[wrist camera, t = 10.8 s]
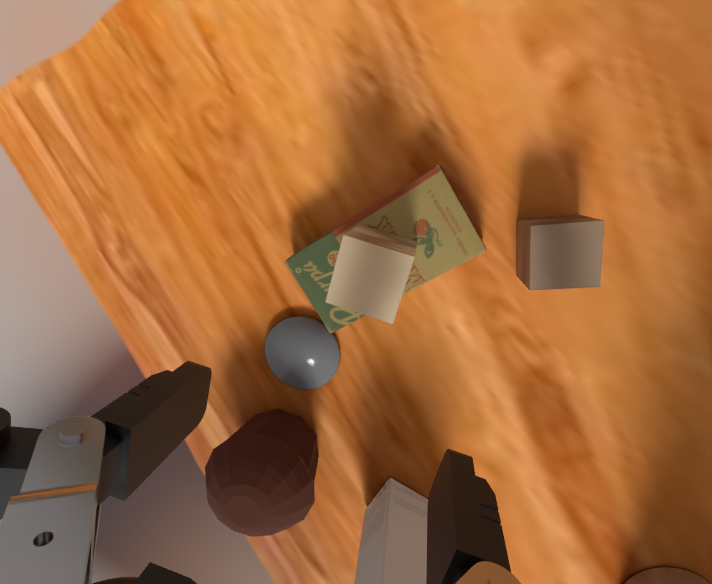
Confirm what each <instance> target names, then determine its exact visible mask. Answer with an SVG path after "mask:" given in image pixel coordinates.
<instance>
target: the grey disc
mask: <svg viewBox="0 0 712 584" xmlns="http://www.w3.org/2000/svg"><path fill="white" fill-rule="evenodd" d="M340 355H341V353H340V346H339V343H338V340H337V338H336V336H335V335H334V333H330V332H329V331H328V329H327V328H326V327H325V325H324V323H322V322H321V321H319V320H317V319H315V318H312V317H309V316H302V315H299V316H291V317H288V318H286V319H283V320H282V321H280V322H279V323H278V324H277V325H276V326H274V327H273V329H272V330H271V331H270V332H269V334H268V336H267V338H266V342H265V357H266V361H267V363H268V366H269V367H270V369H271V371H272V372H273V373H274V375H275V376H276V377H277V378H278V379H280V380H281V381H282V382H284V383H285V384H287V385H289V386H292V387H294V388H298V389H314V388H318V387H320V386H322V385H324V384H326V383H327V382H328V381H329V380H330V379H331V378H332V377H333V376H334V374H335V372H336V370H337V368H338V366H339V363H340Z"/></svg>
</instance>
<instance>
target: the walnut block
mask: <svg viewBox="0 0 712 584" xmlns="http://www.w3.org/2000/svg"><path fill="white" fill-rule="evenodd" d="M603 231H604V220H600V219H595V218H591V217H586V216H582V215H573V216H560V217H548V218H535V219H522V220H517V277H518V278H519V279H520V280H521V281H522V282H523V283H524V284H525V285H526V287H527V288H528V289H529V290H544V289H566V288H588V287H600V281H601V264H602V247H603Z"/></svg>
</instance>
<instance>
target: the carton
mask: <svg viewBox="0 0 712 584" xmlns="http://www.w3.org/2000/svg"><path fill="white" fill-rule="evenodd" d="M360 224H361V225H364V226H367V227H371V228H374V229H377V230H380V231H384V232H387V233H390V234H394V235H397V236H400V237H404V238H407V239H410V240H413V241H417V248H416V253H415V258H414V261H413V264H412V267H411V270H410V273H409V276H408V279H407V282H406V285H405V288H404V291H403V294H402V295H404V294H406V293H408V292H410V291H411V290H413V289H415V288H417V287H419V286H421V285H423V284H425V283H427V282H428V281H430V280H432V279H434V278H436V277H438V276H440V275H442V274H443V273H445V272H447V271H449V270H451V269H453V268H455V267H456V266H458V265H460V264H462V263H464V262H466V261H468V260H470V259H472V258H474V257H476V256H478V255H480V254H482V253H484V252H485V251H487V250H486V247H485V245H484V243H483V242H482V240H481V238H480V236H479V235H478V233H477V231H476V229H475V227H474V225H473V223H472V222H471V220H470V218H469V216H468V214H467V212H466V210H465V209H464V207H463V205H462V203H461V201H460V199H459V198H458V196H457V194H456V192H455V190H454V188H453V187H452V185H451V183H450V181H449V179H448V178H447V176H446V174H445V172H444V170H443V169H442V167H441V165H440V164H437V165H436V166H434V167H432V168H431V169H430V170H428V171H427V172H425V173H424V174H422V175H421V176H419V177H418V178H416V179H414V180H413V181H411V182H410V183H408V184H406V185H405V186H403V187H401V188H400V189H398V190H396V191H395V192H393V193H392V194H390V195H388V196H387V197H385V198H384V199H382V200H381V201H379V202H377V203H376V204H374V205H372V206H371V207H369V208H368V209H366V210H364V211H363V212H361V213H360V214H358V215H357V216H355V217H353V218H352V219H350V220H349V221H347V222H345V223H344V224H342V225H341V226H339V227H337V228H336V229H334V230H332V231H331V232H329V233H328V234H326V235H324V236H323V237H321V238H319V239H318V240H316V241H314V242H313V243H311V244H310V245H308V246H306V247H305V248H303V249H301V250H299V251H298V252H296V253H295V254H294V255H292V256H291V257H289V258H288V259H287V260H286V261H285V265H286V266H287V267H288V268H289V270H290V271H291V273H292V274H293V276H294V277H295V279H296V280H297V282H298V284H299V285H300V287H301V288H302V290H303V291H304V293H305V294H306V296H307V297H308V299H309V301H310V302H311V304H312V305H313V307H314V308H315V310H316V311H317V313H318V315H319V316H320V318H321V319H322V321H323V323H324V325H325V327H326V328H327V329H328V331H329V332H330V333H333V332H335V331H337V330H339V329H341V328H343V327H344V326H346V325H348V324H350V323H352V322H354V321H356V320H357V319H359V318H361V317H363V316H365V315H363V314H359V313H356V312H353V311H350V310H347V309H344V308H341V307H338V306H335V305H332V304H329V303H326V298H327V294H328V290H329V287H330V283H331V279H332V275H333V272H334V268H335V264H336V260H337V257H338V253H339V249H340V245H341V242H342V238H343V235H344V234H346V233H347V232H349V231H350V230H352V229H354V228H355V227H357V226H359V225H360Z"/></svg>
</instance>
